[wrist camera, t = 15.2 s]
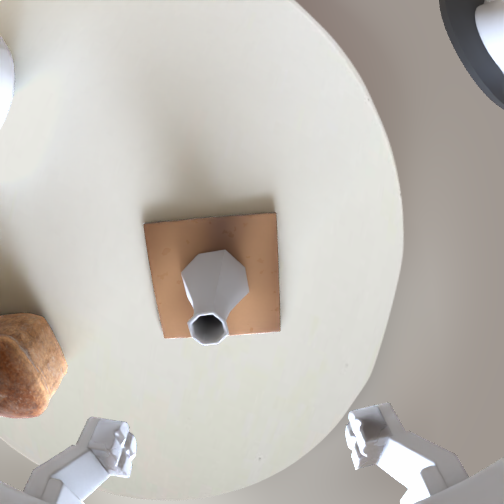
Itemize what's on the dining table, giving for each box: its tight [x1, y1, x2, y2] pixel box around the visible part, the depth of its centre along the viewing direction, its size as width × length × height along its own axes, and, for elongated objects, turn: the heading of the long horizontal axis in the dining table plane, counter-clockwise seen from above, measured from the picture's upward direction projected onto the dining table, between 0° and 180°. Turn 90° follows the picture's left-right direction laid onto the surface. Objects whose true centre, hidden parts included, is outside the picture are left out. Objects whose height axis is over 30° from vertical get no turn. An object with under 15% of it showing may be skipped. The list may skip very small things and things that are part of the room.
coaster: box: [144, 212, 280, 338], centre depth 33 cm, size 14×14×1 cm
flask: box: [181, 250, 249, 346], centre depth 28 cm, size 7×7×10 cm
